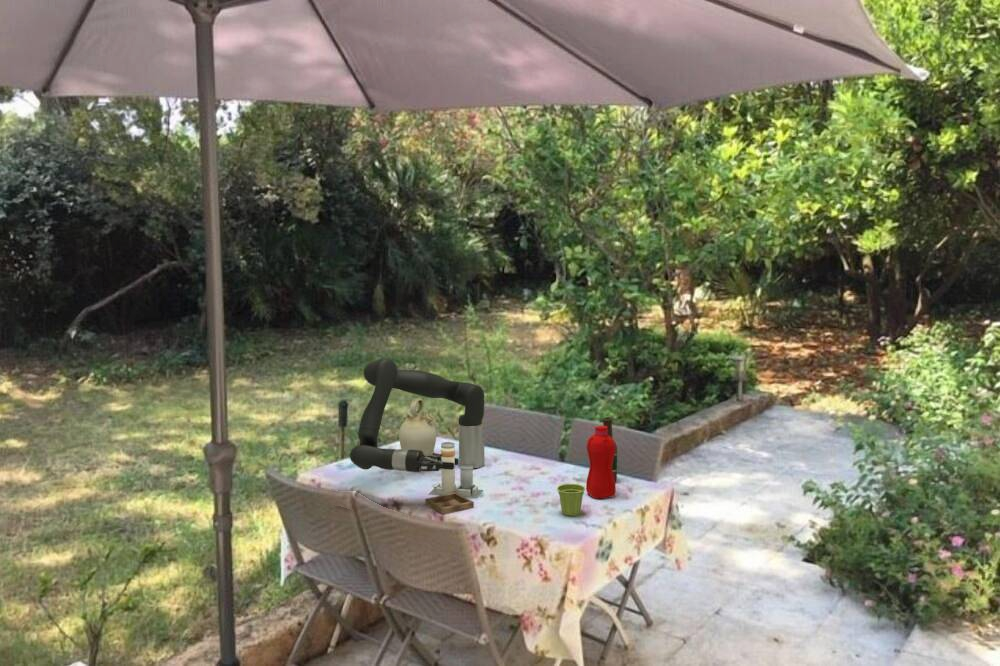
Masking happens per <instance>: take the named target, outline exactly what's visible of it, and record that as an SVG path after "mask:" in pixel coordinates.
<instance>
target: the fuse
mask: <svg viewBox="0 0 1000 666" xmlns="http://www.w3.org/2000/svg"><path fill="white" fill-rule="evenodd" d="M459 470H460V471H459V473H460V476H459V477H460V481H459V483H460V484H459V485H460V489H466V490H471V494H472V489H473V484H474V481H473V480H474V479H473V478H474V477H473V476H474V473H473V471H474V469H473V465H471V464H462V465H460V466H459Z"/></svg>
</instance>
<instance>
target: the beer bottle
mask: <svg viewBox="0 0 1000 666" xmlns="http://www.w3.org/2000/svg"><path fill="white" fill-rule="evenodd" d="M602 422H603V425H602V426H607V427H608V432H607V435H609V436H610V437H612V438H613V437H614V436H613V428H612V427H613V423H612V422H613V418H612V417H608V416H607V417H603V419H602ZM613 439H614V438H613ZM615 446H616V451H615V455H614V459H613V463H612V470H613V475H614V480H615V482H616V483H617V480H618V479H617V477H618V446H617V443H616V442H615Z"/></svg>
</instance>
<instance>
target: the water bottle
mask: <svg viewBox="0 0 1000 666" xmlns="http://www.w3.org/2000/svg"><path fill="white" fill-rule="evenodd" d="M607 432H608V427H607V426H603V425H598V426H597V425H596V426H594V434H593V435H590V437H588V439H587V444H586V453H587V455H588V460H589V469H588V474H587V479H586V483H585V484H586V487H585V491H586V493H587V494H588V495H589V496H590V497H592V498H594V499H597V500H602V499H608V497H609V498H612V497H614V496H615V495H616V491H617V489H616V483H615V480H614V475H613V470H612V463H613V459H614V455H615V451H616V446H617V445H616V446H615V443H616V441H615V439H614V438H612V437H610V436H609V435H607ZM601 498H602V499H601Z"/></svg>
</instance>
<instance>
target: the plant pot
mask: <svg viewBox="0 0 1000 666" xmlns="http://www.w3.org/2000/svg"><path fill="white" fill-rule="evenodd" d="M556 491H557V492H558V495H559V501H560V508H561V514H562V515H563V516H566V515H567V516H571V517H576V516H579V515H580V514H581V511H582V503H583V496H584V494H585V491H586V487H585V486H584V485H581V484H577V483H564V484H560V485H558V486H557V487H556Z"/></svg>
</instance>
